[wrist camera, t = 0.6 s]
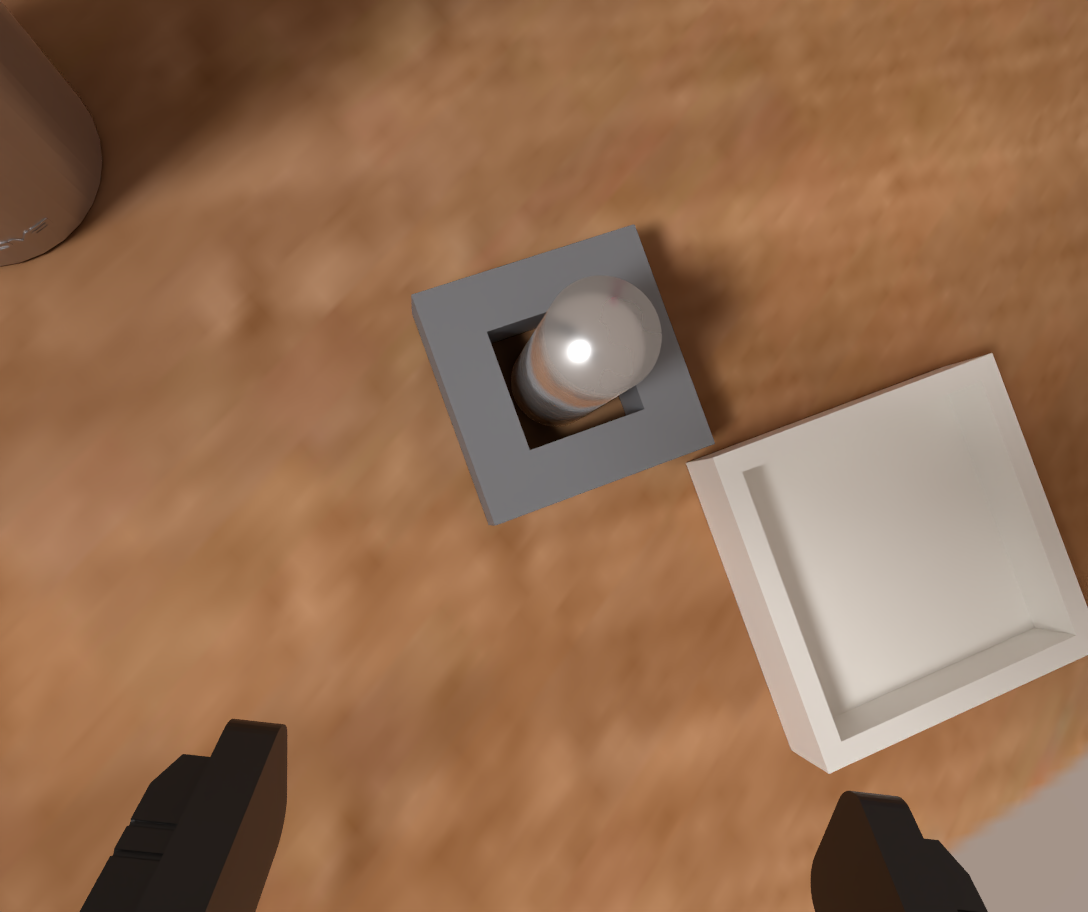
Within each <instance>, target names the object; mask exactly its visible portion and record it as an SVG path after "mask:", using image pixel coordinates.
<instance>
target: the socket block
mask: <svg viewBox="0 0 1088 912" xmlns="http://www.w3.org/2000/svg"><path fill="white" fill-rule="evenodd" d="M598 275H600V276H612V277H616V278H619V279H622V280H625V281H627V282H629V283H631V284H632V285H634V286H635V287H637V288H638V289H639V290H641V291H642V292H643V293H644V294H645V295H646V296H647V298H648V299H649V300H650V302H651V303H652V305H653V306H654V308H655V310H656V312H657V315H658V317H659V321H660V325H661V331H662V342H661V349H660V353H659V356H658V359H657V361H656V363H655V365H654V367H653V369H652V370H651V371H650V373H649V374H648V375H647V376H646V377H645V378H644V379H643V380H642V381H641V382H639V383H638V384H637V385H635V386H633V387H632V388H630V389H628V390H627V391H625V392H623V393H622V394H620V395H619V398H620V400H621V403H622V406H623V409H624V411H625V414H626V416H624V417H621V418H618V419H616V420H613V421H610V422H607V423H604V424H602V425H599V426H596V427H593V428H591V429H588V430H585V431H582V432H579V433H577V434H574V435H571V436H568V437H565V438H563V439H560V440H557V441H554V442H551V443H549V444H546V445H543V446H540V447H538V448H535V449H532V450H530V449H529V446H528V444H527V441H526V438H525V435H524V433H523V430H522V427H521V424H520V422H519V419H518V416H517V413H516V411H515V408H514V405H513V402H512V400H511V397H510V394H509V391H508V389H507V386H506V383H505V380H504V378H503V375H502V372H501V369H500V367H499V364H498V361H497V359H496V356H495V353H494V350H493V348H492V345H491V343H493V342H496V341H499V340H502V339H505V338H508V337H511V336H514V335H517V334H520V333H523V332H526V331H529V330H532V329H535V328H537V327H538V325H539V323H540V322H541V320H542V319H543V317H544V315H545V314H546V312H547V311H548V309H549V307H550V306H551V304H552V303H553V301H554V300H555V298H556V297H557V296H558V294H559V293H560V292H561V291H562V290H563V289H565V288H566V287H567V286H569V285H570V284H572V283H574V282H575V281H577V280H580V279H582V278H586V277H590V276H598ZM411 297H412V314H413V317H414V320H415V323H416V325H417V328H418V331H419V334H420V336H421V339H422V342H423V345H424V347H425V350H426V353H427V356H428V358H429V361H430V364H431V367H432V369H433V372H434V375H435V378H436V380H437V383H438V386H439V389H440V391H441V394H442V397H443V400H444V403H445V405H446V408H447V411H448V414H449V416H450V419H451V422H452V425H453V427H454V430H455V433H456V436H457V438H458V441H459V444H460V447H461V449H462V452H463V455H464V458H465V460H466V463H467V466H468V469H469V471H470V474H471V477H472V480H473V483H474V485H475V488H476V491H477V494H478V496H479V499H480V502H481V505H482V507H483V510H484V513H485V516H486V518H487V521H488V524H489V525H498V524H501V523H503V522H506V521H509V520H511V519H514V518H517V517H519V516H522V515H525V514H527V513H530V512H533V511H535V510H538V509H541V508H544V507H546V506H549V505H552V504H554V503H557V502H560V501H562V500H565V499H568V498H570V497H573V496H576V495H578V494H581V493H584V492H587V491H589V490H592V489H595V488H597V487H600V486H603V485H605V484H608V483H611V482H613V481H616V480H619V479H621V478H624V477H627V476H629V475H632V474H635V473H638V472H640V471H643V470H646V469H648V468H651V467H654V466H656V465H659V464H662V463H664V462H667V461H670V460H672V459H675V458H678V457H681V456H683V455H686V454H689V453H691V452H694V451H697V450H699V449H702V448H705V447H707V446H710V445H713V444H715V442H714V439H713V437H712V434H711V431H710V429H709V426H708V423H707V420H706V418H705V415H704V412H703V409H702V407H701V404H700V401H699V399H698V396H697V393H696V390H695V388H694V385H693V382H692V380H691V377H690V374H689V371H688V369H687V366H686V363H685V361H684V358H683V355H682V352H681V350H680V347H679V344H678V342H677V339H676V336H675V333H674V331H673V328H672V325H671V322H670V320H669V317H668V314H667V312H666V309H665V306H664V303H663V301H662V298H661V295H660V293H659V290H658V287H657V284H656V282H655V279H654V276H653V274H652V271H651V268H650V265H649V263H648V260H647V257H646V255H645V252H644V249H643V246H642V244H641V241H640V238H639V235H638V233H637V230H636V227H635V225H634V224H633V225H630V226H627V227H624V228H621V229H618V230H615V231H611V232H608V233H605V234H602V235H599V236H596V237H592V238H589V239H586V240H583V241H580V242H577V243H573V244H570V245H567V246H564V247H561V248H558V249H555V250H551V251H548V252H545V253H542V254H539V255H536V256H532V257H529V258H526V259H523V260H520V261H517V262H513V263H510V264H507V265H504V266H501V267H498V268H495V269H491V270H488V271H485V272H482V273H479V274H476V275H472V276H469V277H466V278H463V279H460V280H457V281H453V282H450V283H447V284H444V285H441V286H438V287H435V288H431V289H428V290H425V291H422V292H419V293H416V294H412V295H411Z"/></svg>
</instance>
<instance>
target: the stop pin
mask: <svg viewBox="0 0 1088 912" xmlns="http://www.w3.org/2000/svg"><path fill="white" fill-rule="evenodd" d="M661 342H662V331H661V325H660V321H659V317H658V315H657V312H656V310H655V308H654V306H653V305H652V303H651V302H650V300H649V299H648V298H647V296H646V295H645V294H644V293H643V292H642V291H641V290H639V289H638V288H637V287H635V286H634V285H632V284H631V283H629V282H627V281H625V280H622V279H619V278H616V277H612V276H600V275H598V276H590V277H586V278H582V279H580V280H577V281H575V282H574V283H572V284H570V285H569V286H567V287H566V288H565V289H563V290H562V291H561V292H560V293H559V294H558V296H557V297H556V298H555V300H554V301H553V303H552V304H551V306H550V307H549V309H548V311H547V312H546V314H545V315H544V317H543V319H542V320H541V322H540V323H539V325H538V327H537V328H536V330H535V331H534V333H533V335H532V336H531V338H530V339H529V341H528V342H527V344H526V346H525V347H524V349H523V350H522V352H521V354H520V355H519V357H518V358H517V360H516V362H515V364H514V367H513V370H512V374H511V389H512V393H513V397H514V399H515V401H516V403H517V405H518V406H519V408H520V409H521V410H522V412H523V413H524V414H525V415H526V416H528V417H529V418H530V419H532V420H534V421H535V422H538V423H540V424H543V425H547V426H564V425H568V424H571V423H573V422H575V421H577V420H579V419H580V418H582V417H584V416H585V415H587V414H589V413H590V412H592V411H594V410H595V409H597V408H598V407H600V406H602V405H603V404H605V403H607V402H608V401H610V400H612V399H613V398H615V397H617V396H618V395H620V394H622V393H623V392H625V391H627V390H628V389H630V388H632V387H633V386H635V385H637V384H638V383H639V382H641V381H642V380H643V379H644V378H645V377H646V376H647V375H648V374H649V373H650V371H651V370H652V369H653V367H654V365H655V363H656V361H657V359H658V356H659V353H660V349H661Z"/></svg>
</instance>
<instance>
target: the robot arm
mask: <svg viewBox="0 0 1088 912" xmlns="http://www.w3.org/2000/svg"><path fill="white" fill-rule="evenodd" d="M101 170H102V153H101V145H100V138H99V135H98V133H97V130H96V127H95V125H94V122H93V119H92V117H91V115H90V114H89V112H88V111H87V109H86V107H85V106H84V104H83V103H82V101H81V100H80V98H79V97H78V96H77V94H76V93H75V92H74V91H73V89H72V88H71V87H70V86H69V85H68V83H67V82H66V81H65V80H64V78H63V77H62V76H61V75H60V73H59V72H58V71H57V70H56V68H55V67H54V66H53V65H52V64H51V62H50V61H49V60H48V59H47V57H46V56H45V55H44V54H43V52H42V51H41V50H40V48H39V47H38V46H37V45H36V43H35V42H34V41H33V40H32V38H31V37H30V36H29V35H28V33H27V32H26V31H25V30H24V29H23V27H22V26H21V25H20V24H19V22H18V21H17V20H16V19H15V17H14V16H13V15H12V14H11V13H10V11H9V10H8V9H7V8H6V6H5V5H4V4H3V3H2V1H1V0H0V266H4V265H9V264H15V263H20V262H23V261H25V260H28V259H31V258H33V257H36V256H38V255H41V254H43V253H45V252H46V251H48V250H49V249H51V248H53V247H54V246H56V245H57V244H59V243H60V242H62V241H63V240H65V239H66V238H67V237H68V235H69V234H70V233H71V232H72V231H73V230H74V229H75V228H76V227H77V226H78V225H79V224H80V223H81V222H82V220H83V219H84V217H85V216H86V214H87V212H88V211H89V209H90V208H91V206H92V204H93V202H94V199H95V196H96V193H97V190H98V188H99V185H100V180H101ZM286 803H287V727H286V725H283V724H275V723H266V722H257V721H248V720H240V719H231V720H230V721H229V722H228V723H227V725H226V726H225V728H224V730H223V732H222V734H221V736H220V738H219V741H218V743H217V745H216V747H215V749H214V751H213V753H212V755H211V757H204V756H195V755H186V754H183V755H181V756H180V757H179V758H178V759H177V760H176V761H175V762H174V763H172V764H171V765H170V766H169V767H168V768H167V769H166V770H165V771H163V772H162V773H161V774H160V775H159V776H158V777H157V778H156V779H154V780H153V781H152V782H151V783H150V785H149V787H148V788H147V790H146V792H145V794H144V796H143V798H142V799H141V801H140V803H139V805H138V807H137V808H136V810H135V812H134V814H133V816H132V818H131V822H130V825H129V826H127V827H126V828H125V830H124V832H123V834H122V836H121V838H120V839H119V841H118V843H117V845H116V847H115V848H114V854H113V856H110V857H109V859H108V861H107V863H106V865H105V867H104V868H103V870H102V872H101V874H100V876H99V877H98V879H97V881H96V883H95V885H94V887H93V888H92V890H91V892H90V894H89V896H88V897H87V899H86V901H85V903H84V905H83V906H82V908H81V910H80V912H255V911H256V908H257V905H258V902H259V899H260V896H261V893H262V891H263V888H264V885H265V882H266V879H267V876H268V873H269V870H270V868H271V865H272V862H273V859H274V856H275V853H276V850H277V847H278V844H279V840H280V837H281V833H282V828H283V824H284V818H285V812H286ZM811 894H812V900H813V905H814V909H815V912H987V909H986V907H985V906H984V903H983V901H982V899H981V897H980V895H979V893H978V891H977V890H976V888H975V886H974V884H973V882H972V880H971V878H970V876H969V874H968V873H967V872H966V871H965V870H964V868H963V867H962V866H961V865H960V864H959V863H958V862H957V861H956V860H955V858H954V857H953V856H952V855H951V854H950V853H949V852H948V851H947V849H946V848H945V847H944V846H943V845H942V844H941V843H940V842H939V840H931V839H924V838H923V836H922V834H921V832H920V830H919V828H918V826H917V823H916V821H915V819H914V817H913V815H912V813H911V811H910V809H909V807H908V805H907V804H906V802H905V801H904V800H903V799H902V798H900V797H898V796H890V795H881V794H872V793H863V792H855V791H846V792H844V793H843V794H842V795H841V797H840V799H839V801H838V803H837V805H836V808H835V810H834V812H833V815H832V817H831V819H830V822H829V824H828V827H827V829H826V831H825V834H824V836H823V838H822V841H821V843H820V845H819V848H818V850H817V852H816V855H815V857H814V860H813V864H812V869H811Z"/></svg>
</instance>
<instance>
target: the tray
mask: <svg viewBox="0 0 1088 912" xmlns="http://www.w3.org/2000/svg"><path fill="white" fill-rule="evenodd" d="M686 465H687V467H688V470H689V473H690V476H691V478H692V481H693V484H694V486H695V489H696V492H697V495H698V497H699V500H700V503H701V506H702V508H703V511H704V514H705V516H706V519H707V522H708V525H709V527H710V530H711V533H712V535H713V538H714V541H715V544H716V546H717V549H718V552H719V555H720V557H721V560H722V563H723V565H724V568H725V571H726V574H727V576H728V579H729V582H730V585H731V587H732V590H733V593H734V595H735V598H736V601H737V604H738V606H739V609H740V612H741V614H742V617H743V620H744V623H745V625H746V628H747V631H748V634H749V636H750V639H751V642H752V644H753V647H754V650H755V653H756V655H757V658H758V661H759V664H760V666H761V669H762V672H763V674H764V677H765V680H766V683H767V685H768V688H769V691H770V693H771V696H772V699H773V702H774V704H775V707H776V710H777V713H778V715H779V718H780V721H781V723H782V726H783V729H784V732H785V734H786V737H787V740H788V743H789V745H790V748H791V750H792V751H793V752H795V753H797V754H798V755H800V756H801V757H803V758H805V759H806V760H808V761H809V762H811V763H813V764H814V765H816V766H817V767H819V768H821V769H822V770H824V771H825V772H827V773H829V774H830V773H832V772H834V771H836V770H838V769H840V768H843V767H845V766H847V765H849V764H851V763H854V762H856V761H858V760H860V759H862V758H864V757H867V756H869V755H871V754H873V753H875V752H877V751H880V750H882V749H884V748H886V747H888V746H891V745H893V744H895V743H897V742H899V741H901V740H904V739H906V738H908V737H910V736H912V735H915V734H917V733H919V732H921V731H923V730H925V729H928V728H930V727H932V726H934V725H936V724H938V723H941V722H943V721H945V720H947V719H949V718H952V717H954V716H956V715H958V714H960V713H962V712H965V711H967V710H969V709H971V708H973V707H975V706H978V705H980V704H982V703H984V702H986V701H989V700H991V699H993V698H995V697H997V696H999V695H1002V694H1004V693H1006V692H1008V691H1010V690H1012V689H1015V688H1017V687H1019V686H1021V685H1023V684H1026V683H1028V682H1030V681H1032V680H1034V679H1036V678H1039V677H1041V676H1043V675H1045V674H1047V673H1050V672H1052V671H1054V670H1056V669H1058V668H1060V667H1063V666H1065V665H1067V664H1069V663H1071V662H1073V661H1076V660H1078V659H1080V658H1082V657H1084V656H1087V655H1088V607H1087V605H1086V602H1085V599H1084V597H1083V594H1082V591H1081V589H1080V586H1079V583H1078V581H1077V578H1076V575H1075V573H1074V570H1073V567H1072V565H1071V562H1070V559H1069V557H1068V554H1067V551H1066V549H1065V546H1064V543H1063V541H1062V538H1061V535H1060V533H1059V530H1058V527H1057V524H1056V522H1055V519H1054V516H1053V514H1052V511H1051V508H1050V506H1049V503H1048V500H1047V498H1046V495H1045V492H1044V490H1043V487H1042V484H1041V482H1040V479H1039V476H1038V474H1037V471H1036V468H1035V466H1034V463H1033V460H1032V458H1031V455H1030V452H1029V450H1028V447H1027V444H1026V442H1025V439H1024V436H1023V434H1022V431H1021V428H1020V426H1019V423H1018V420H1017V418H1016V415H1015V412H1014V410H1013V407H1012V404H1011V402H1010V399H1009V396H1008V394H1007V391H1006V388H1005V386H1004V383H1003V380H1002V378H1001V375H1000V372H999V370H998V367H997V364H996V362H995V359H994V356H993V354H992V353H990V354H987V355H983V356H980V357H976V358H973V359H969V360H965V361H962V362H958V363H955V364H951V365H948V366H944V367H941V368H939V369H936V370H933V371H931V372H928V373H925V374H923V375H920V376H917V377H915V378H912V379H909V380H907V381H904V382H901V383H899V384H896V385H893V386H891V387H888V388H885V389H883V390H880V391H877V392H875V393H872V394H869V395H867V396H864V397H861V398H858V399H856V400H853V401H850V402H848V403H845V404H842V405H840V406H837V407H834V408H832V409H829V410H826V411H824V412H821V413H818V414H816V415H813V416H810V417H808V418H805V419H802V420H800V421H797V422H794V423H792V424H789V425H786V426H784V427H781V428H778V429H776V430H773V431H770V432H768V433H765V434H762V435H760V436H757V437H754V438H752V439H749V440H746V441H744V442H741V443H738V444H736V445H733V446H730V447H728V448H725V449H722V450H720V451H717V452H714V453H712V454H709V455H706V456H704V457H701V458H698V459H695V460H693V461H690V462H687V463H686Z"/></svg>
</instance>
